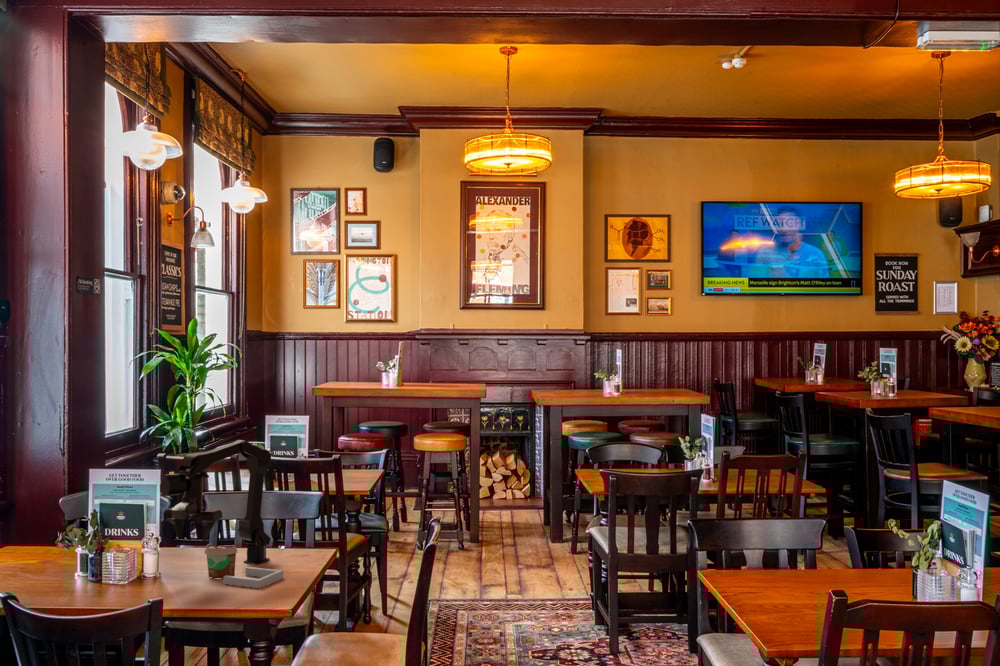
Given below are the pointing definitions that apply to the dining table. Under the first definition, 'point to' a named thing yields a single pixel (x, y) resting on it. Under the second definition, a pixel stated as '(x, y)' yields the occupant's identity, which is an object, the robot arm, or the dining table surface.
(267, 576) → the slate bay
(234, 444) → the robot arm
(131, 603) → the dining table surface
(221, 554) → the food container
